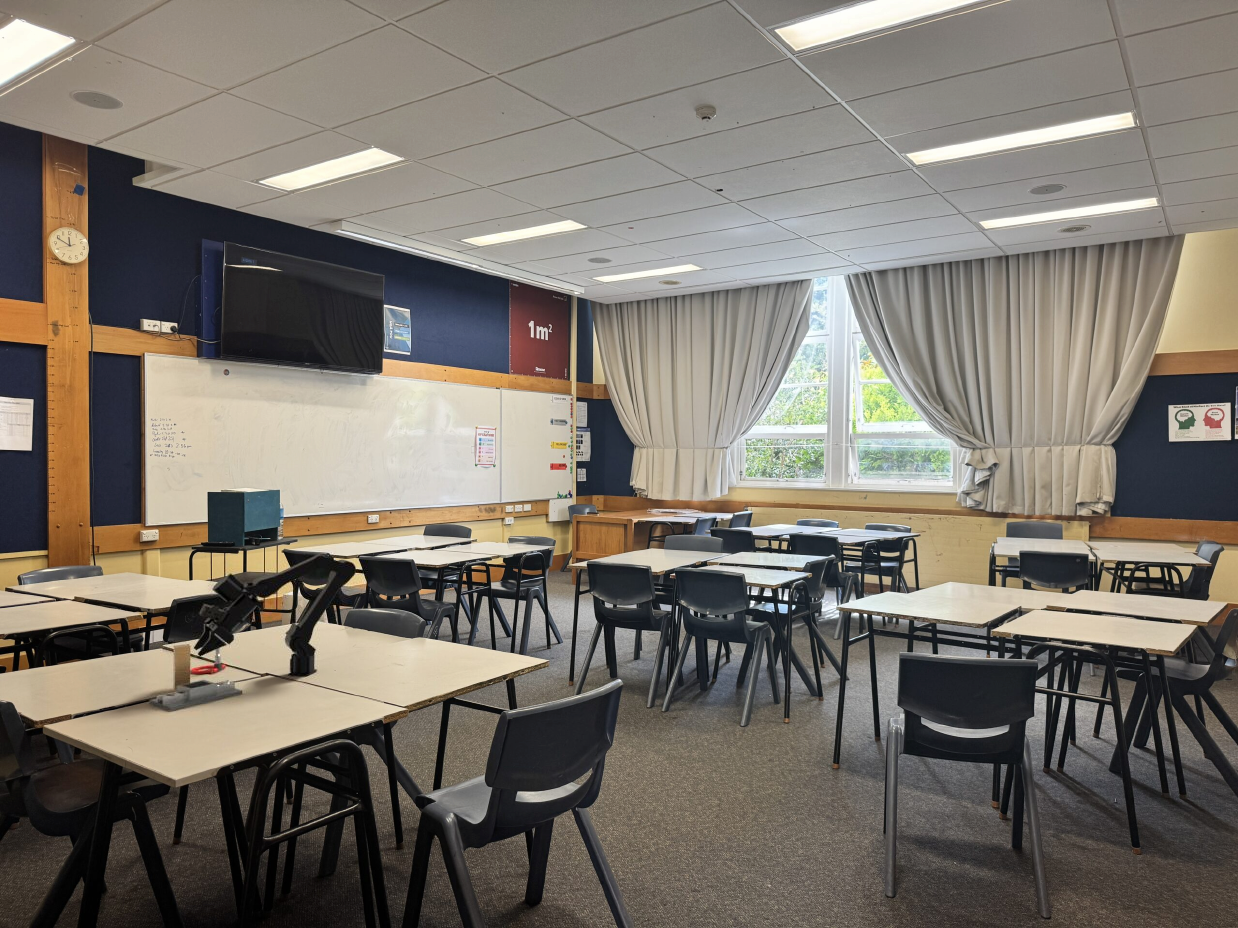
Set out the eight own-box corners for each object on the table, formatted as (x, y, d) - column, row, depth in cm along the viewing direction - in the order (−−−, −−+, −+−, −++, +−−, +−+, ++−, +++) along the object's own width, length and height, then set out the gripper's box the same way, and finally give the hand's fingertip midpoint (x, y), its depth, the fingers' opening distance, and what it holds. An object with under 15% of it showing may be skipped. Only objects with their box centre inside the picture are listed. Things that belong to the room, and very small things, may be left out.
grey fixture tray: (220, 687, 235) (220, 673, 235) (242, 693, 228) (242, 680, 228) (149, 703, 219) (149, 689, 219) (171, 711, 212) (171, 696, 212)
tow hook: (184, 675, 250) (213, 674, 249) (183, 634, 250) (211, 633, 249) (200, 668, 258) (227, 668, 258) (198, 629, 258) (226, 628, 258)
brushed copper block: (188, 687, 234) (189, 643, 234) (190, 690, 231) (190, 646, 232) (173, 689, 232) (173, 645, 232) (174, 692, 229) (174, 647, 229)
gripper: (213, 590, 245) (171, 629, 238) (222, 598, 229) (178, 640, 223) (240, 613, 249) (200, 652, 243) (251, 623, 234) (209, 665, 228)
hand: (196, 652), depth 234 cm, fingers open, 9 cm apart
